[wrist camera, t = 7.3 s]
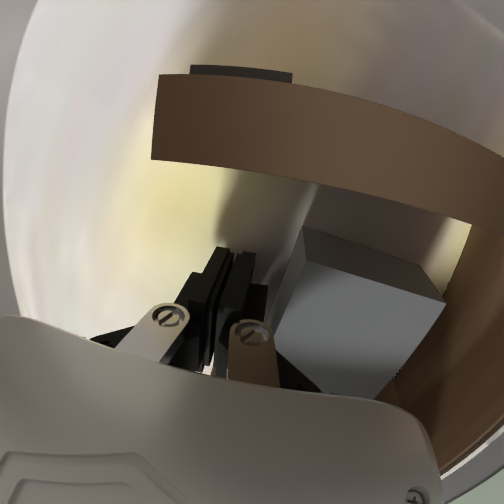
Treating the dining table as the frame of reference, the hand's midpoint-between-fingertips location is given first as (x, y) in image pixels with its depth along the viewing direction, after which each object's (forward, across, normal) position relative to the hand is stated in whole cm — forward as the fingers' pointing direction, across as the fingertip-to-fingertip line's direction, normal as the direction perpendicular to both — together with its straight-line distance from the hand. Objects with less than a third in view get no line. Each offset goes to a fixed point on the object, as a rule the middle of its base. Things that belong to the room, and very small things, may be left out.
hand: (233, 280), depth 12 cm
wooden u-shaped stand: (+1, -6, 0) cm, 6 cm away
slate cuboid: (+1, -5, +2) cm, 5 cm away
